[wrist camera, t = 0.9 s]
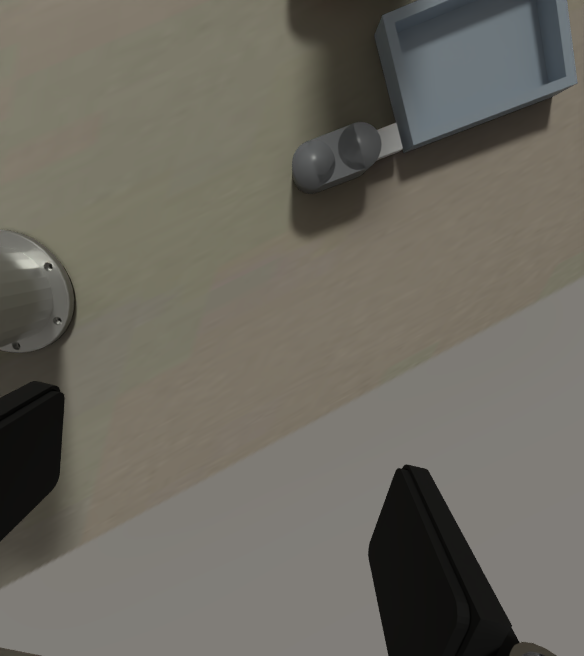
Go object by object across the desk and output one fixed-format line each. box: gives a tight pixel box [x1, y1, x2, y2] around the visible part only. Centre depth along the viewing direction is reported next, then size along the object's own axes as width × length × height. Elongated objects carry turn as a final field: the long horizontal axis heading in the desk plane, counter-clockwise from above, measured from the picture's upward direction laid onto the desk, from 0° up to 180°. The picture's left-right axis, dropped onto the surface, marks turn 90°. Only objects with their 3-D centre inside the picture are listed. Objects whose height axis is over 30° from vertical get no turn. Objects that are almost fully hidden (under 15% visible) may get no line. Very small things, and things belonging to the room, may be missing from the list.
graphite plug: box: [292, 122, 403, 194], centre depth 30 cm, size 10×4×4 cm, turn 110°
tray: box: [374, 0, 577, 153], centre depth 29 cm, size 14×10×3 cm
